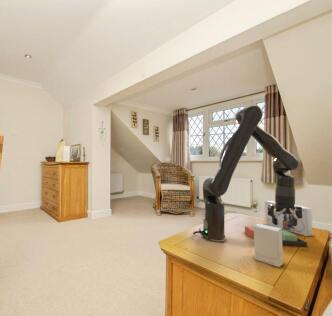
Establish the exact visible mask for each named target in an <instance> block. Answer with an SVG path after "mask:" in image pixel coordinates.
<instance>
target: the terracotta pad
mask: <svg viewBox="0 0 332 316" xmlns="http://www.w3.org/2000/svg"><path fill="white" fill-rule="evenodd" d="M244 234H246V235H248V236H249V237H251V238H252V239H254V229H253V226H251V225H250V226H248V225H247V226H246V225H245V226H244Z"/></svg>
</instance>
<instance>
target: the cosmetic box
mask: <svg viewBox="0 0 332 316" xmlns="http://www.w3.org/2000/svg"><path fill="white" fill-rule="evenodd" d="M252 227H253V229H254V238H253V245H254V260H256V261H258V262H262V263H265V264H268V265H270V266H274V267H277V268H280V267H281V266H282V265H283V264H284V248H283V247H284V245H282V230H283V229H281V228H278V227H273V226H270V225H266V224H261V223H256V224H255V225H253V226H252Z"/></svg>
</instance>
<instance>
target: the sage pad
mask: <svg viewBox="0 0 332 316" xmlns="http://www.w3.org/2000/svg"><path fill="white" fill-rule="evenodd" d="M281 230H282V240H286V241H297V238H298V235H297V234H296V233H293V232H290V231H287V230H283V229H281Z"/></svg>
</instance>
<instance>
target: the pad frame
mask: <svg viewBox="0 0 332 316" xmlns="http://www.w3.org/2000/svg"><path fill="white" fill-rule="evenodd" d="M282 246H285V247H286V246H289V247H304V248H306V247H308V242H306V241H305V240H303V239H302V238H299V237H297V241H286V240H282Z"/></svg>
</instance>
